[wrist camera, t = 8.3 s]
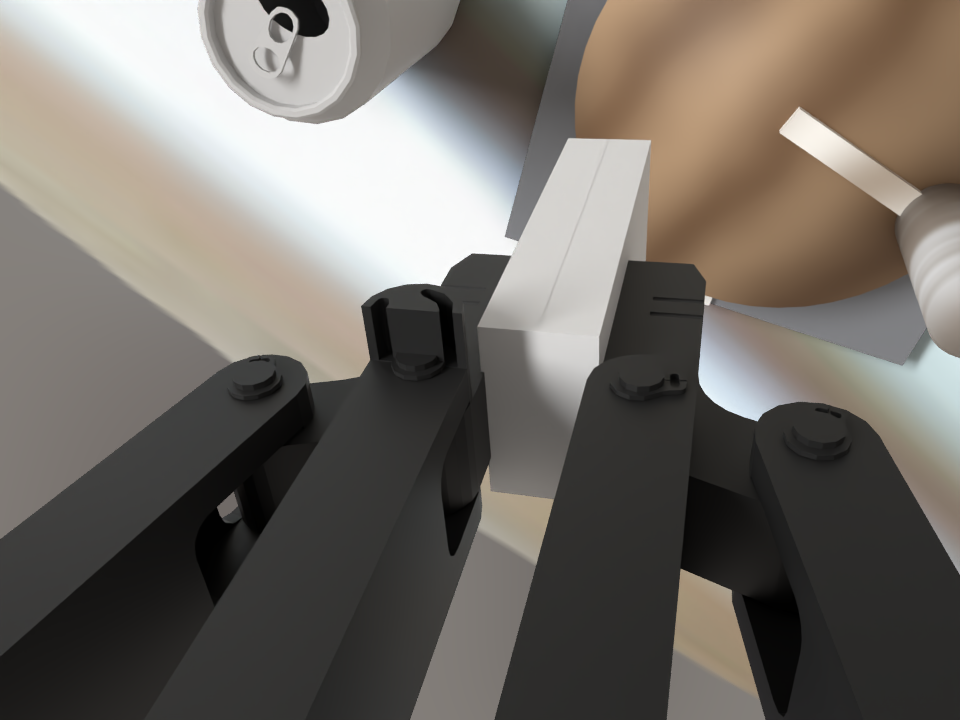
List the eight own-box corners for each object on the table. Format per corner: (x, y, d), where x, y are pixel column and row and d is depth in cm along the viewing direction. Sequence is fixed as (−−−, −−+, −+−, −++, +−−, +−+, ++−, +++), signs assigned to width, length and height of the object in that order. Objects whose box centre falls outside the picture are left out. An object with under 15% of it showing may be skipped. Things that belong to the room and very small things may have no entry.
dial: (510, 154, 42) (453, 240, 33) (758, -240, 31) (763, -253, 23) (820, 359, 43) (838, 489, 35) (1154, 52, 33) (1288, 136, 25)
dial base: (636, -247, 33) (632, -248, 32) (1187, -97, 31) (1202, -94, 30) (509, 228, 45) (503, 239, 44) (899, 355, 43) (903, 368, 42)
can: (495, -55, 38) (410, -4, 28) (422, 88, 42) (327, 175, 33) (350, -152, 37) (212, -135, 28) (292, 3, 42) (154, 66, 32)
